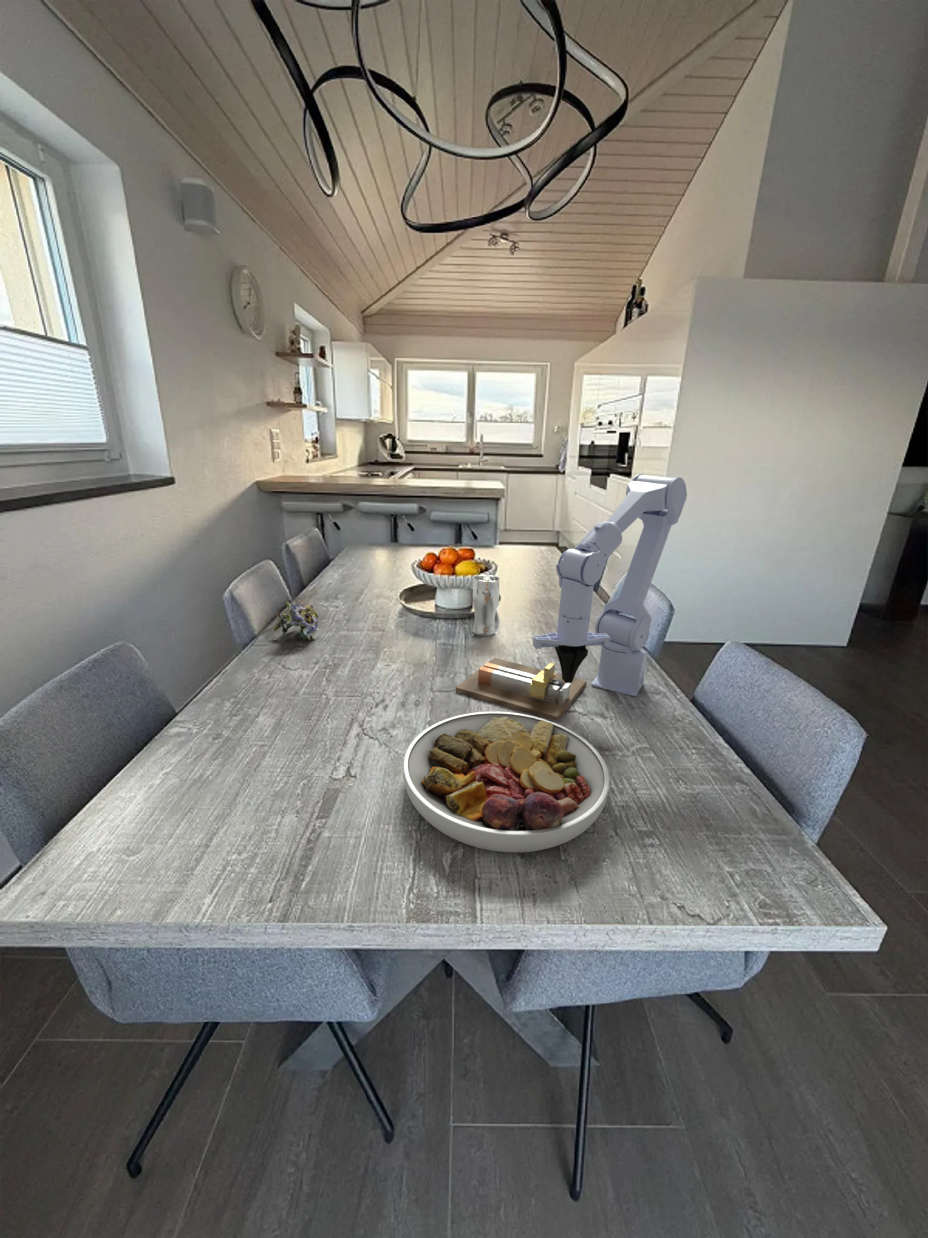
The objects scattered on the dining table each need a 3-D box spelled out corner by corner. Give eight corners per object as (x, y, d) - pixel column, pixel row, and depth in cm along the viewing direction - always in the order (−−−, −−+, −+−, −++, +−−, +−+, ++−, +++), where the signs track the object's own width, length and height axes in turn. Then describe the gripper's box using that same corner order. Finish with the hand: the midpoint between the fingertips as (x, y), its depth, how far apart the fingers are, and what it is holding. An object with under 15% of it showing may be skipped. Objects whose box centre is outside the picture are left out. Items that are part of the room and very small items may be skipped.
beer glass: (487, 638, 137) (490, 583, 132) (465, 632, 141) (468, 578, 136) (502, 631, 142) (505, 577, 137) (481, 625, 146) (483, 573, 141)
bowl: (383, 752, 88) (383, 710, 85) (543, 725, 98) (547, 686, 95) (438, 893, 61) (439, 839, 59) (649, 836, 71) (658, 787, 69)
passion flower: (313, 659, 134) (316, 633, 125) (268, 653, 132) (268, 626, 123) (320, 623, 141) (323, 596, 132) (277, 617, 139) (277, 588, 129)
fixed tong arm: (569, 698, 105) (570, 683, 104) (562, 706, 102) (563, 691, 101) (487, 675, 114) (488, 662, 113) (478, 683, 110) (478, 669, 109)
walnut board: (586, 685, 113) (586, 680, 113) (557, 721, 98) (557, 716, 98) (494, 661, 123) (494, 657, 123) (455, 691, 108) (455, 687, 108)
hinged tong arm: (563, 695, 106) (565, 681, 105) (559, 700, 104) (561, 686, 103) (487, 674, 114) (488, 661, 113) (482, 679, 112) (483, 665, 111)
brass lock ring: (554, 688, 107) (556, 661, 105) (543, 699, 102) (546, 672, 100) (540, 684, 108) (542, 658, 106) (529, 695, 103) (531, 668, 101)
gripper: (602, 606, 103) (593, 670, 107) (530, 608, 100) (525, 673, 105) (618, 618, 96) (608, 685, 101) (542, 620, 94) (535, 689, 98)
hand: (567, 680), depth 102 cm, fingers closed
